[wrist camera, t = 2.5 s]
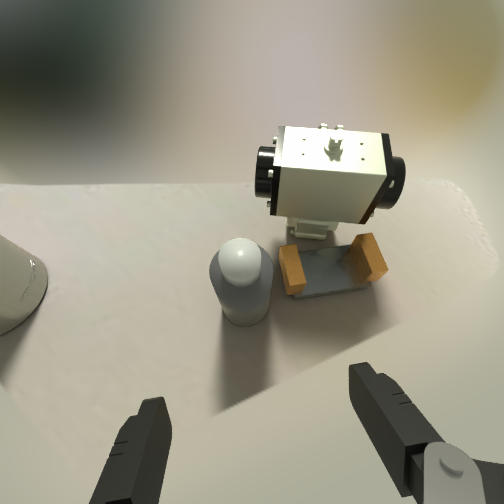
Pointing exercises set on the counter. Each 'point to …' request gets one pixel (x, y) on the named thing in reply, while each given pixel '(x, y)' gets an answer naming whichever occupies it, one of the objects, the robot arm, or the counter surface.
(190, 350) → the counter surface
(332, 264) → the clip bracket
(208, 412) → the counter surface
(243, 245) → the bottle
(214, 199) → the counter surface
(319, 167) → the pneumatic valve
